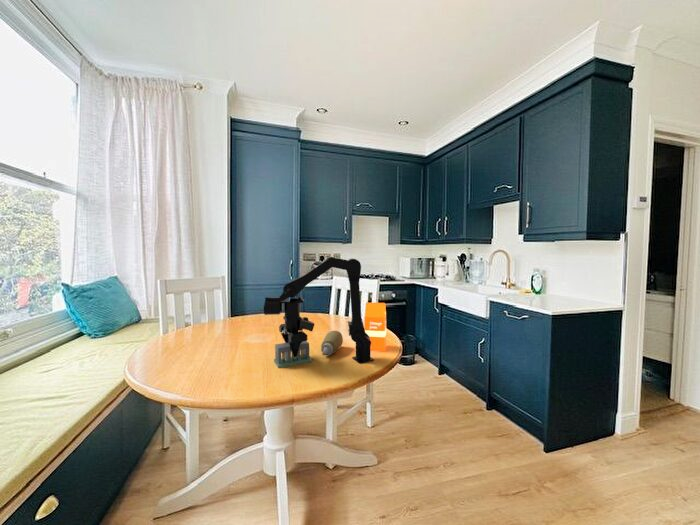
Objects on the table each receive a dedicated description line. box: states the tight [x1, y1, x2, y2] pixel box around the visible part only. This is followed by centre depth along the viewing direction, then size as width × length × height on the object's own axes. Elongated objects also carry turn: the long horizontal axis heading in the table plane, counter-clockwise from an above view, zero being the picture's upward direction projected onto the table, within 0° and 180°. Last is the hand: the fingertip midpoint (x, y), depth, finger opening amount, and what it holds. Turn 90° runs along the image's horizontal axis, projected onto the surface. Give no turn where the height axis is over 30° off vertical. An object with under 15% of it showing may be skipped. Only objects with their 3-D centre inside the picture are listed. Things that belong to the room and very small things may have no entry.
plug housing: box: [274, 340, 310, 364], centre depth 116 cm, size 12×5×6 cm, turn 117°
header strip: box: [273, 350, 313, 369], centre depth 116 cm, size 13×7×4 cm, turn 117°
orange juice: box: [363, 302, 387, 352], centre depth 131 cm, size 8×9×20 cm
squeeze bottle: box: [320, 330, 344, 356], centre depth 125 cm, size 8×8×18 cm
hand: (292, 354), depth 116 cm, fingers open, 6 cm apart
